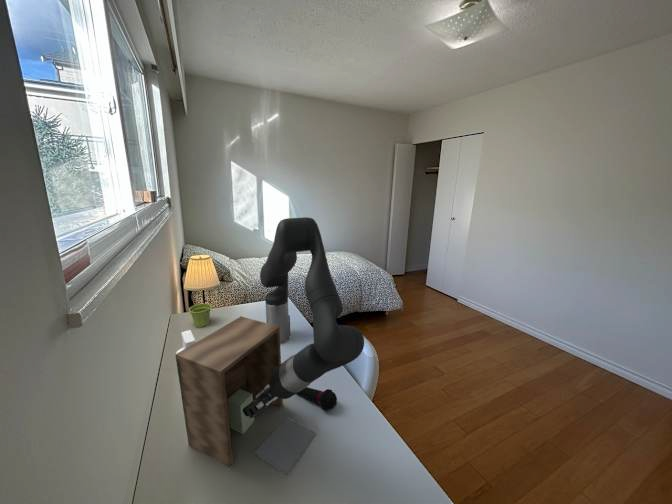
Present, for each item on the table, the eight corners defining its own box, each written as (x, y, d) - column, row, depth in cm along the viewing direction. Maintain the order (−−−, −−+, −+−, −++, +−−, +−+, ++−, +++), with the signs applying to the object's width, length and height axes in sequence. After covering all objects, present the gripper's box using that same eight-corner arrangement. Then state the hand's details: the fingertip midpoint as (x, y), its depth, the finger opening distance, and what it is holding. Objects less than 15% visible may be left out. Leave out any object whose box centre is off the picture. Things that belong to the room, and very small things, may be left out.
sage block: (241, 415, 78) (239, 388, 76) (254, 421, 76) (252, 393, 74) (230, 427, 74) (227, 399, 72) (242, 433, 72) (240, 405, 70)
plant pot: (207, 329, 124) (205, 312, 122) (186, 329, 124) (184, 312, 122) (216, 320, 133) (214, 303, 131) (197, 319, 133) (195, 303, 131)
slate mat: (286, 418, 77) (286, 417, 77) (316, 434, 72) (316, 432, 72) (255, 454, 67) (255, 452, 67) (287, 475, 62) (287, 473, 62)
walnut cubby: (188, 444, 69) (175, 354, 63) (246, 390, 88) (240, 316, 81) (230, 468, 63) (220, 371, 57) (282, 404, 82) (279, 326, 76)
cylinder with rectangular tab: (175, 364, 100) (171, 334, 97) (202, 355, 105) (199, 327, 102) (179, 377, 93) (175, 346, 90) (208, 367, 98) (204, 337, 96)
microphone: (281, 397, 89) (333, 417, 79) (275, 385, 87) (328, 404, 76) (291, 383, 93) (341, 400, 83) (286, 371, 91) (337, 387, 80)
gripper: (299, 346, 70) (265, 372, 77) (264, 381, 57) (227, 408, 65) (318, 369, 69) (282, 393, 76) (285, 410, 57) (246, 434, 64)
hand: (257, 400), depth 71 cm, fingers open, 8 cm apart
